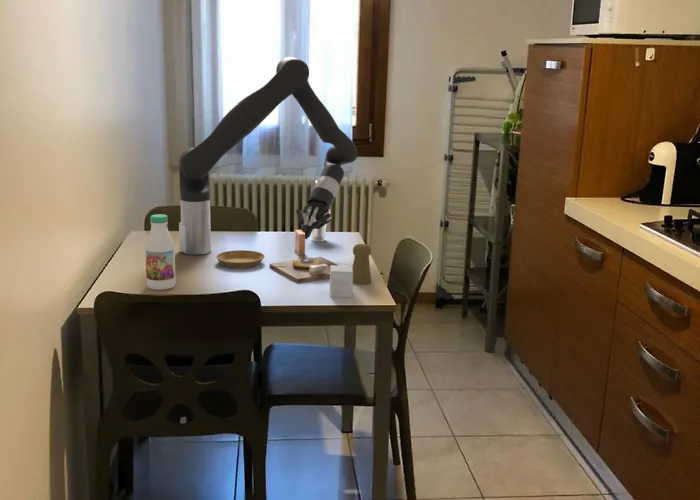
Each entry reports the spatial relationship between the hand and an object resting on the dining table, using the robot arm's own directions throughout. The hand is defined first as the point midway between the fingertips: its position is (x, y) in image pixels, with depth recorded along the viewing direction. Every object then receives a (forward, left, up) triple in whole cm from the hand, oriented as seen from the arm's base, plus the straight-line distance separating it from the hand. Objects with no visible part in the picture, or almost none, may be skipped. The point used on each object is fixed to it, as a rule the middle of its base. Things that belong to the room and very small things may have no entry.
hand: (303, 237), depth 240 cm
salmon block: (-4, -7, -6) cm, 10 cm away
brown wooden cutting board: (-4, -12, -7) cm, 14 cm away
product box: (-7, -35, -8) cm, 36 cm away
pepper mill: (+4, -28, -8) cm, 29 cm away
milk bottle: (-48, -7, -8) cm, 49 cm away
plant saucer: (-19, +5, -8) cm, 21 cm away
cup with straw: (+18, +21, -8) cm, 29 cm away
